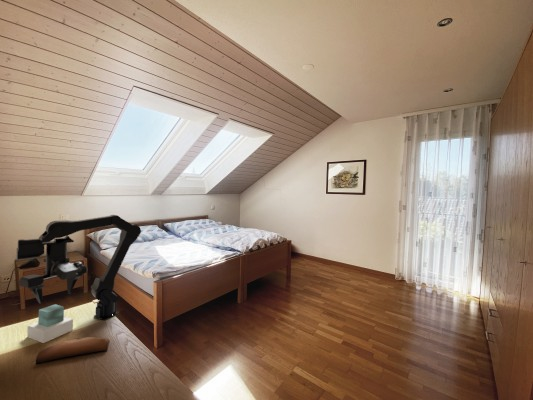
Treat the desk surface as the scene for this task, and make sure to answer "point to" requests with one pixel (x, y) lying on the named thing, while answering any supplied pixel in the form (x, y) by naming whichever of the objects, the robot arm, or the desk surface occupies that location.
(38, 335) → the large white block
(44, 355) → the sunglasses case
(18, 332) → the desk surface
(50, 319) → the teal cube
